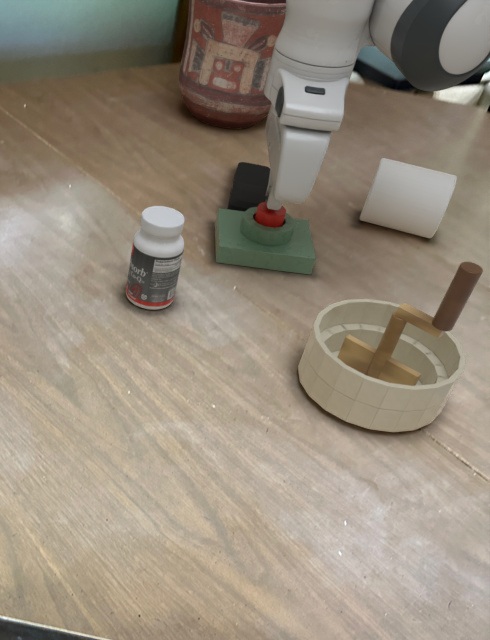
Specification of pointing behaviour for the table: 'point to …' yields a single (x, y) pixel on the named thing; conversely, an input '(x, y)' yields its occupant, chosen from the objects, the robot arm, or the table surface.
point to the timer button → (270, 216)
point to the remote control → (249, 186)
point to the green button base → (263, 242)
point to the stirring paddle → (380, 359)
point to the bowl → (370, 393)
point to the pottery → (229, 59)
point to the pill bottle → (156, 258)
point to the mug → (408, 198)
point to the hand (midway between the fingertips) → (272, 204)
